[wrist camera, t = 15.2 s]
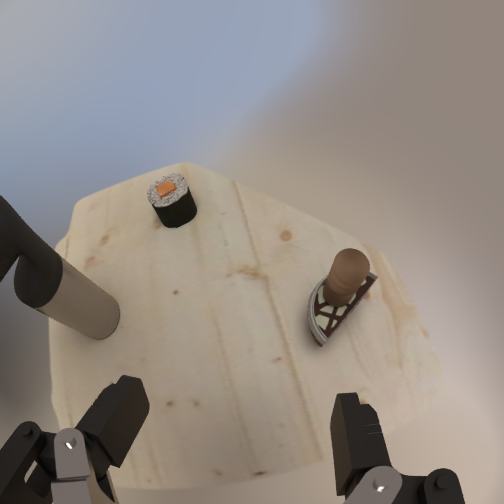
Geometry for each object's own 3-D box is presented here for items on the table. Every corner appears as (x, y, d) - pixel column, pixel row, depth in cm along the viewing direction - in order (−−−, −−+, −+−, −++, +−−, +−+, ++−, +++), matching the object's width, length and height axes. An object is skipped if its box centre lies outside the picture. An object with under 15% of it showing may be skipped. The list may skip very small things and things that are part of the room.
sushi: (203, 214, 56) (193, 188, 49) (167, 234, 55) (152, 210, 48) (188, 190, 60) (178, 165, 53) (154, 208, 58) (141, 184, 51)
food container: (334, 276, 47) (346, 247, 38) (361, 298, 44) (380, 274, 36) (286, 329, 43) (288, 310, 35) (315, 354, 41) (325, 342, 32)
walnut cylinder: (322, 306, 34) (334, 282, 27) (322, 278, 36) (332, 247, 29) (352, 307, 34) (371, 282, 27) (351, 278, 36) (367, 249, 29)
